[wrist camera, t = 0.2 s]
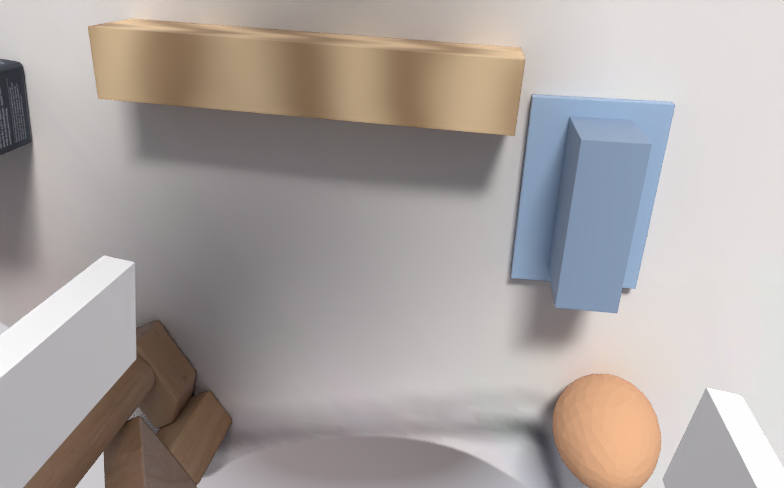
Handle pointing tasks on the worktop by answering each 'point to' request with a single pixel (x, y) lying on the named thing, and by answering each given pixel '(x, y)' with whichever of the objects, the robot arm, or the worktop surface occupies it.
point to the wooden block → (144, 425)
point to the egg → (607, 432)
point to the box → (13, 107)
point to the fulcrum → (588, 195)
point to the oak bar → (310, 74)
